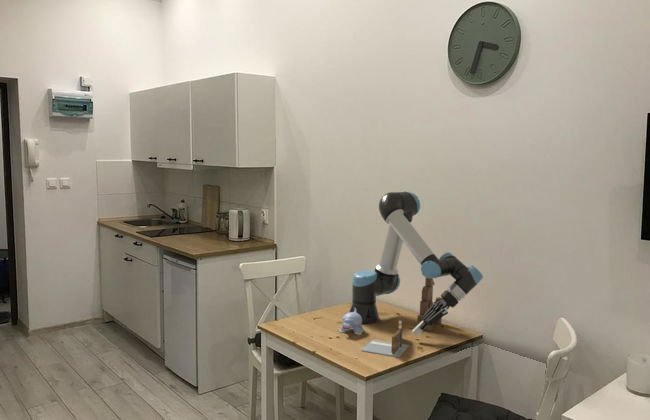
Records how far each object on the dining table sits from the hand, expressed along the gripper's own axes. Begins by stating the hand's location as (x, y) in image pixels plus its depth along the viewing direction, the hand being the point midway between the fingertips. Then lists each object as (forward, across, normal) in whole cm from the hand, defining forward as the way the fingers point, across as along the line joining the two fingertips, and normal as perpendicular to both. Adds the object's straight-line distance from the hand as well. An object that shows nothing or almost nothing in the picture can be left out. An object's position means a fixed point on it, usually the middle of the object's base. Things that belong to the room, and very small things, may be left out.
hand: (414, 333), depth 233 cm
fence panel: (+7, 0, +3) cm, 7 cm away
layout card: (+13, -8, +8) cm, 17 cm away
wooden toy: (-7, +21, -12) cm, 25 cm away
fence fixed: (+10, -12, +5) cm, 16 cm away
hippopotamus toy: (+21, +14, +16) cm, 29 cm away
